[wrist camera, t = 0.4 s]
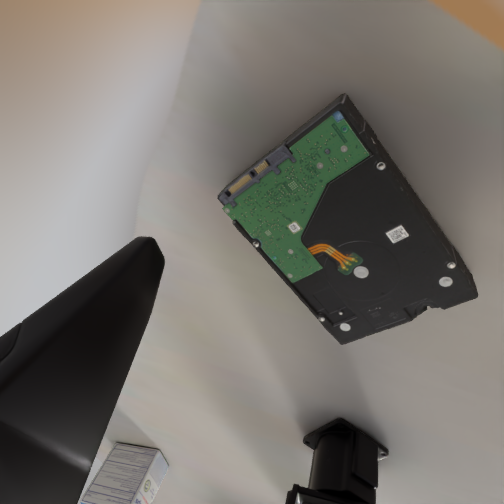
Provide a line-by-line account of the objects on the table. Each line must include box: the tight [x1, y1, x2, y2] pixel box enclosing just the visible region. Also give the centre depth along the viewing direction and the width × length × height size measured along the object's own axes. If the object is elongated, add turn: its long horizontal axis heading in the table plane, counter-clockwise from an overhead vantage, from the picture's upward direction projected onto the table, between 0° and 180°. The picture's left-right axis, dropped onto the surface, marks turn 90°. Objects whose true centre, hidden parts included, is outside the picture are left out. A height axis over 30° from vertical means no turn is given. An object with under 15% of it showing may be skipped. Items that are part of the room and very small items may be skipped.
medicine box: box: [80, 443, 168, 504], centre depth 52 cm, size 8×4×9 cm, turn 104°
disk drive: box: [218, 94, 478, 345], centre depth 25 cm, size 10×3×15 cm
